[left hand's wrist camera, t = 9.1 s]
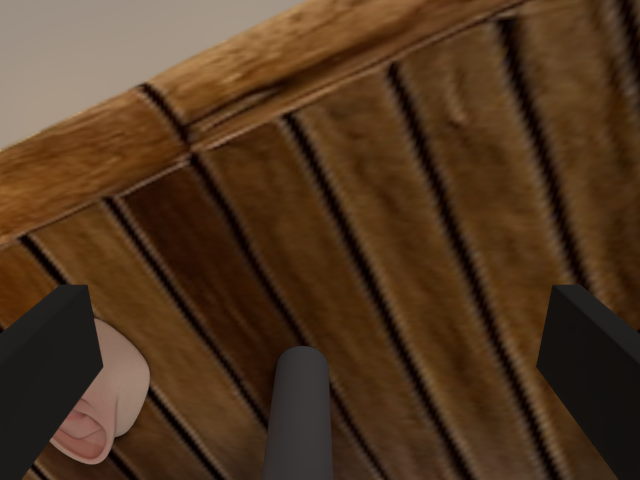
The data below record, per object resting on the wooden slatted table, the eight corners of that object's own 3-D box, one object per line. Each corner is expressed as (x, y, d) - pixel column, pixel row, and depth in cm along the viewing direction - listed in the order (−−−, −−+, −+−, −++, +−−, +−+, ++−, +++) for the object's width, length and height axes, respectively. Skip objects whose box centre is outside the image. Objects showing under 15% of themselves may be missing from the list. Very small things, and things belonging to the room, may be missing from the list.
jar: (279, 390, 45) (258, 576, 29) (273, 347, 44) (247, 519, 27) (330, 386, 45) (338, 570, 29) (326, 343, 44) (332, 513, 27)
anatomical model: (40, 323, 38) (164, 386, 40) (65, 300, 41) (176, 359, 44) (-15, 427, 42) (100, 478, 44) (12, 397, 45) (117, 446, 48)
